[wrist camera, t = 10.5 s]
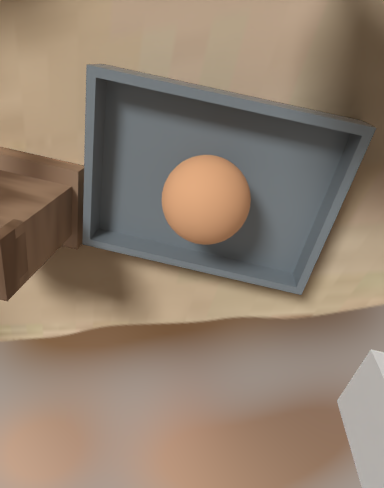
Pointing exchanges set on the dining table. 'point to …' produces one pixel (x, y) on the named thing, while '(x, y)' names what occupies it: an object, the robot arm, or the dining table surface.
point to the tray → (222, 145)
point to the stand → (36, 214)
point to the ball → (206, 199)
